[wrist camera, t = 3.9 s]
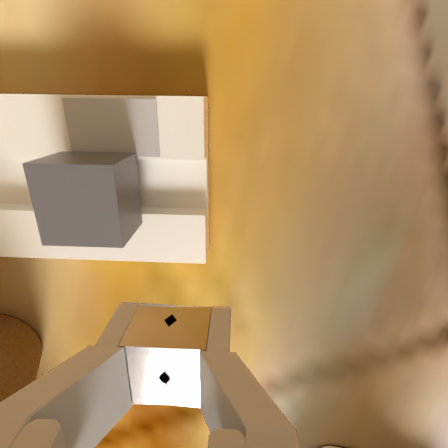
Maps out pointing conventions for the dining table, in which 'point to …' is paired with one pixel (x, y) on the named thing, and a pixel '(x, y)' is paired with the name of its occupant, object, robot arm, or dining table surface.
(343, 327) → the dining table surface
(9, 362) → the plant pot
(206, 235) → the switch plate
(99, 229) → the switch knob
